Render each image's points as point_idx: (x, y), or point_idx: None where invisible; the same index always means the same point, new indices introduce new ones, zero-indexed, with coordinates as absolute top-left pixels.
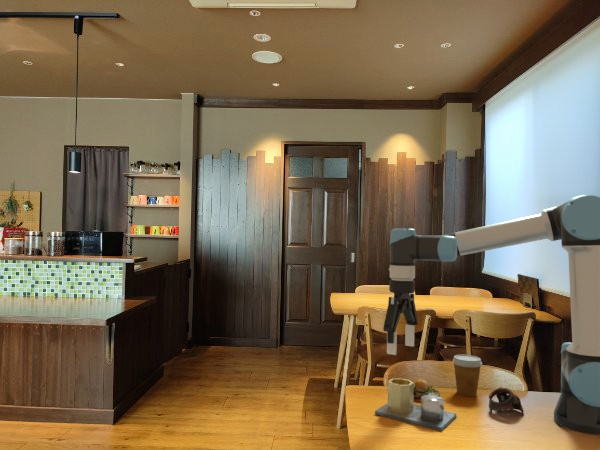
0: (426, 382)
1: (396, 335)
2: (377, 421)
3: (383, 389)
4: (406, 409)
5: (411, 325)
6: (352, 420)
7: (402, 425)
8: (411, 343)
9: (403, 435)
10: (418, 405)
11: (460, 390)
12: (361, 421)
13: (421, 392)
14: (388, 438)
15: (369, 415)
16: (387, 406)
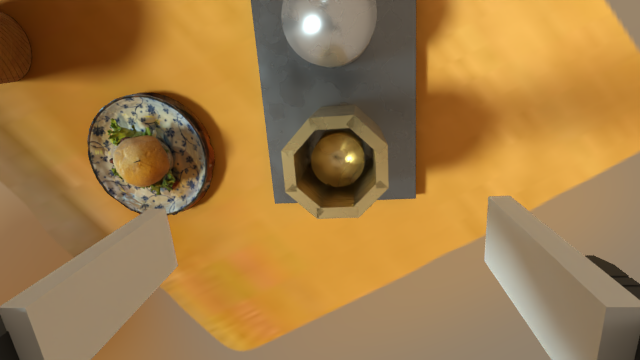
0: (125, 147)
1: (584, 280)
2: (464, 161)
3: (192, 274)
4: (363, 113)
5: (33, 332)
6: None
7: (447, 83)
8: (156, 231)
9: (529, 39)
10: (268, 112)
11: (19, 57)
12: None
13: (165, 150)
14: (583, 66)
15: (432, 203)
16: None
